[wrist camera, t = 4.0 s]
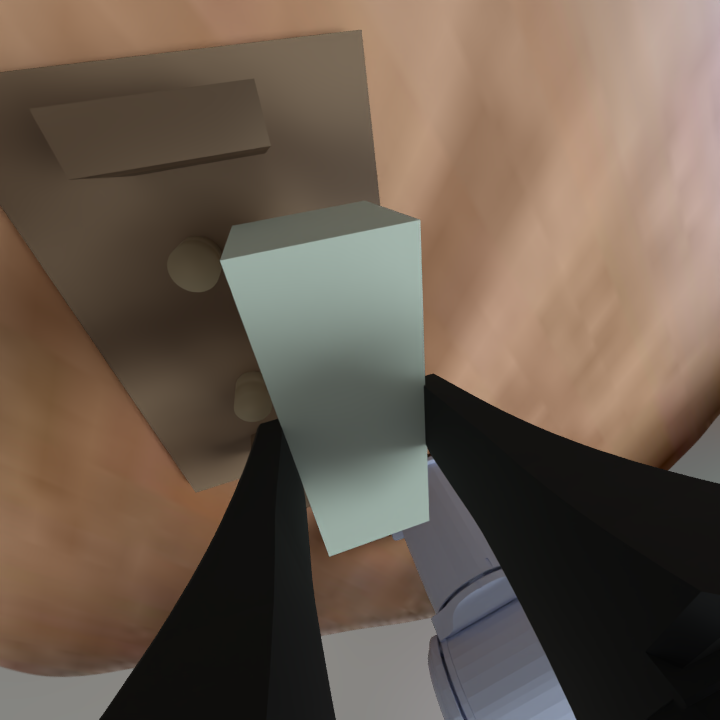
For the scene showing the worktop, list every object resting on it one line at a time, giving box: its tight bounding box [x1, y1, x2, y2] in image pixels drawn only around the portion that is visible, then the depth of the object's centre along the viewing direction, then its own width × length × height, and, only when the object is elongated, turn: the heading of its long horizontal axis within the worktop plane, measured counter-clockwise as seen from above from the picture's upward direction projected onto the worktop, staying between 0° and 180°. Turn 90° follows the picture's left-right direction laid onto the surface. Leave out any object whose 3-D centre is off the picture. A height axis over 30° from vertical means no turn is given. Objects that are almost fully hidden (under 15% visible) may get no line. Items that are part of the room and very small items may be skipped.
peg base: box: [0, 30, 380, 508], centre depth 15 cm, size 20×14×6 cm
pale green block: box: [220, 201, 429, 557], centre depth 11 cm, size 11×4×4 cm, turn 8°
